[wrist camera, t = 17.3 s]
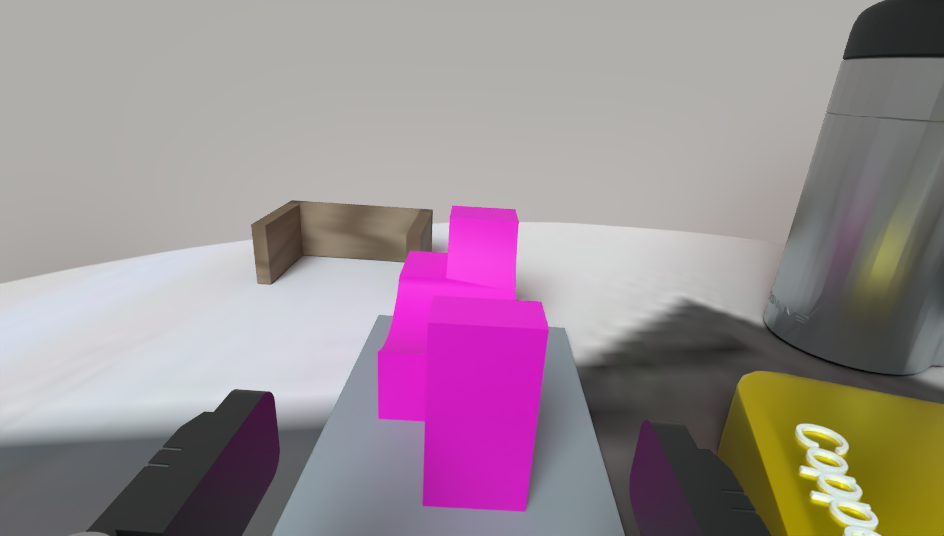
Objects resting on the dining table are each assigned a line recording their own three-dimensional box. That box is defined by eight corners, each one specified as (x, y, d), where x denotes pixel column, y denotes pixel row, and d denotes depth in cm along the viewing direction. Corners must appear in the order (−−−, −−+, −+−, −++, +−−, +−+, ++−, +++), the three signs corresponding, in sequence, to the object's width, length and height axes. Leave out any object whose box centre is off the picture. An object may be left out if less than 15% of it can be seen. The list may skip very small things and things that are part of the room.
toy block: (408, 316, 32) (410, 203, 29) (504, 321, 32) (515, 209, 29) (353, 502, 18) (346, 317, 15) (525, 512, 18) (549, 329, 15)
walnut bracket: (431, 259, 43) (432, 209, 41) (419, 294, 36) (420, 236, 34) (295, 250, 43) (291, 200, 41) (257, 283, 36) (251, 224, 34)
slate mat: (563, 333, 32) (564, 328, 31) (644, 621, 15) (647, 612, 15) (378, 320, 32) (378, 315, 32) (251, 589, 15) (250, 580, 15)
